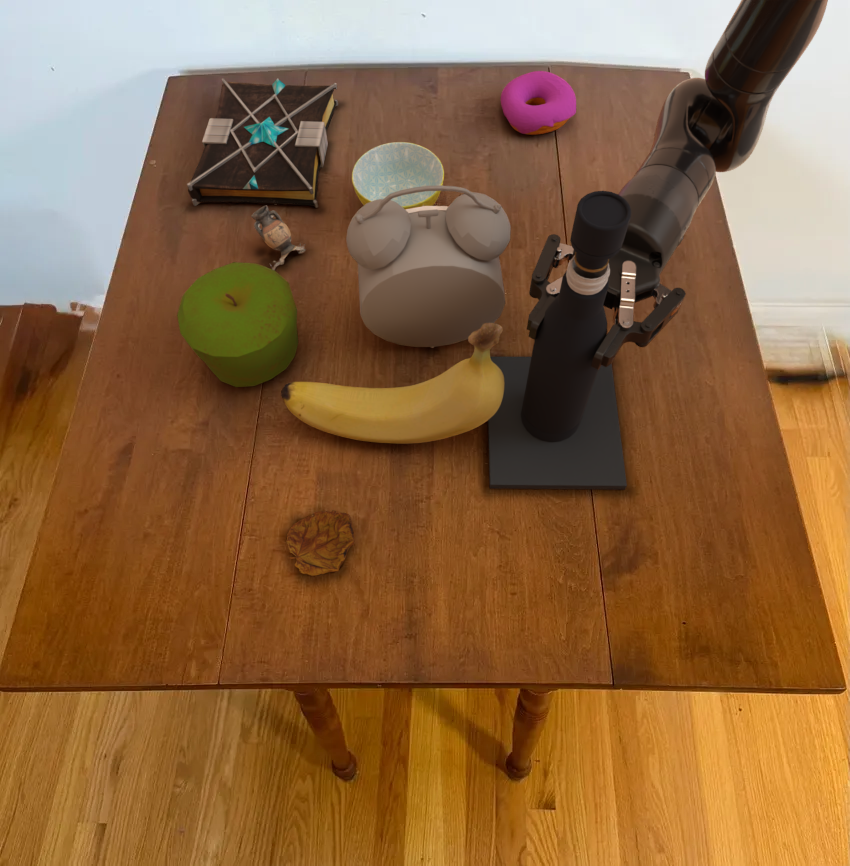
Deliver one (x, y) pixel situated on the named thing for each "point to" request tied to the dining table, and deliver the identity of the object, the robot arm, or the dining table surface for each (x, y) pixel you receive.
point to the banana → (407, 401)
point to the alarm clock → (429, 266)
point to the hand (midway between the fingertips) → (564, 347)
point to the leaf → (321, 542)
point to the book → (264, 144)
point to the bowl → (398, 174)
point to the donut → (538, 102)
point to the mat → (555, 461)
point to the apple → (241, 322)
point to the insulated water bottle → (575, 322)
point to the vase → (274, 232)
